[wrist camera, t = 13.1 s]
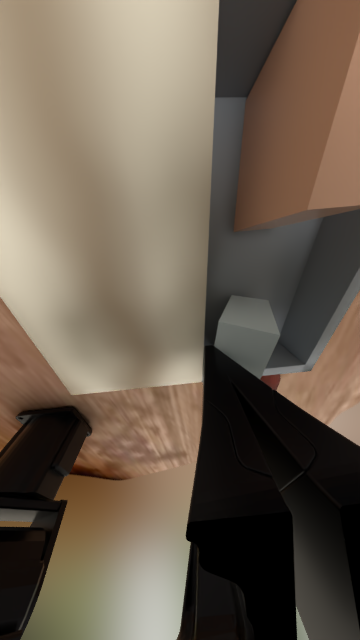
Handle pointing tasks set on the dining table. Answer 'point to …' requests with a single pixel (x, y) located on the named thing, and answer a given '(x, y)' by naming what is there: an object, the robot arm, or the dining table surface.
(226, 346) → the grey sharp-edged block
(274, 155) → the tile terracotta
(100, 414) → the dining table surface
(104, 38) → the board
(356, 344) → the dining table surface
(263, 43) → the tray
